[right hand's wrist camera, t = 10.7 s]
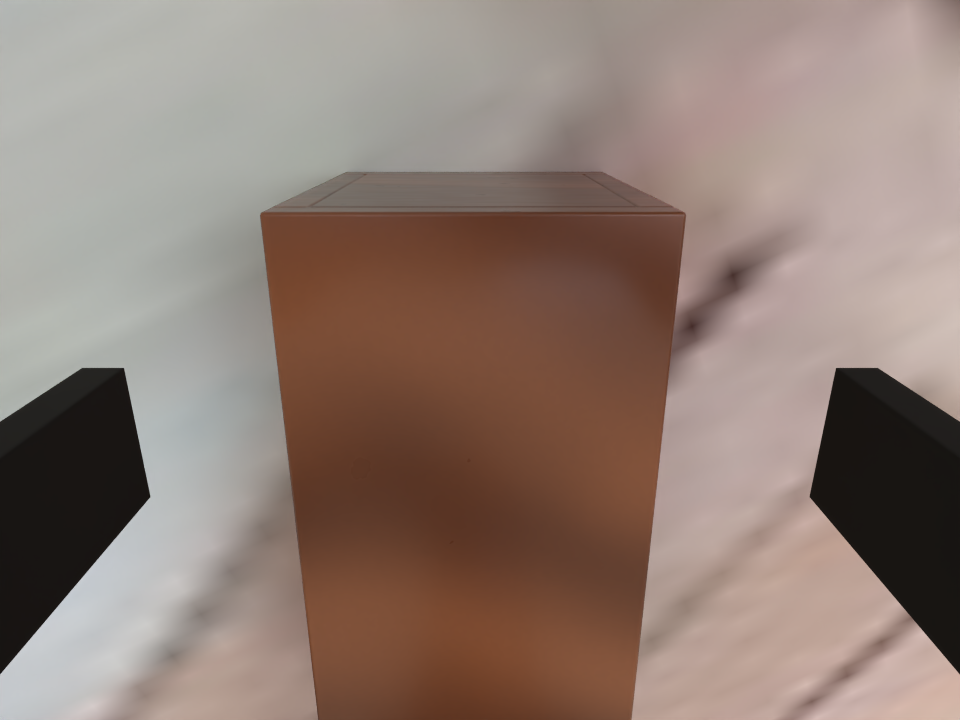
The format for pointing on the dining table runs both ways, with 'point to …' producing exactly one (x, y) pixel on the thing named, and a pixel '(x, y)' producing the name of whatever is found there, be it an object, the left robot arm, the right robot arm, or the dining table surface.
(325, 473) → the cabinet
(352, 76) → the dining table surface
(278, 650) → the dining table surface
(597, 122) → the dining table surface
